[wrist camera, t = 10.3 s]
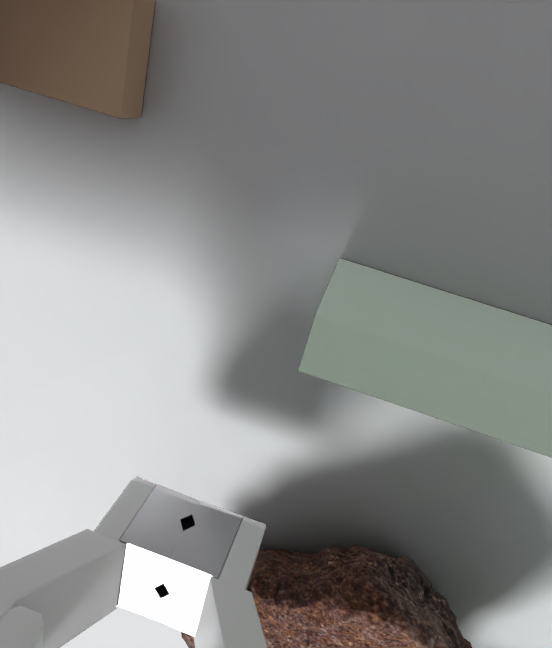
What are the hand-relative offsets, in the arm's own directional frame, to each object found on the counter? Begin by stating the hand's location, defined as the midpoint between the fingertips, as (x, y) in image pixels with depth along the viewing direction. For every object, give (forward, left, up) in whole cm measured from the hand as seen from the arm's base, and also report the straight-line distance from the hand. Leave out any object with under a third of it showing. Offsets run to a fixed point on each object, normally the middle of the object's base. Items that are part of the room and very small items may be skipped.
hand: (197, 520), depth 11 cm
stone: (+4, -3, -2) cm, 5 cm away
